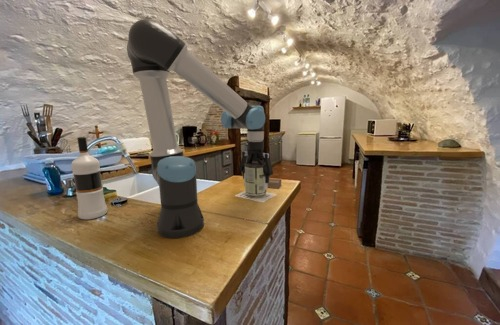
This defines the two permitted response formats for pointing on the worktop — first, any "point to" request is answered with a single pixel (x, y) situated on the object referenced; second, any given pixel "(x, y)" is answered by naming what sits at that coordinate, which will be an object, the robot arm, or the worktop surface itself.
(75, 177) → the vodka
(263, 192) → the coffee can
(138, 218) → the worktop surface
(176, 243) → the worktop surface
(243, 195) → the letter
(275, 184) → the walnut block
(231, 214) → the worktop surface
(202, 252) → the worktop surface
